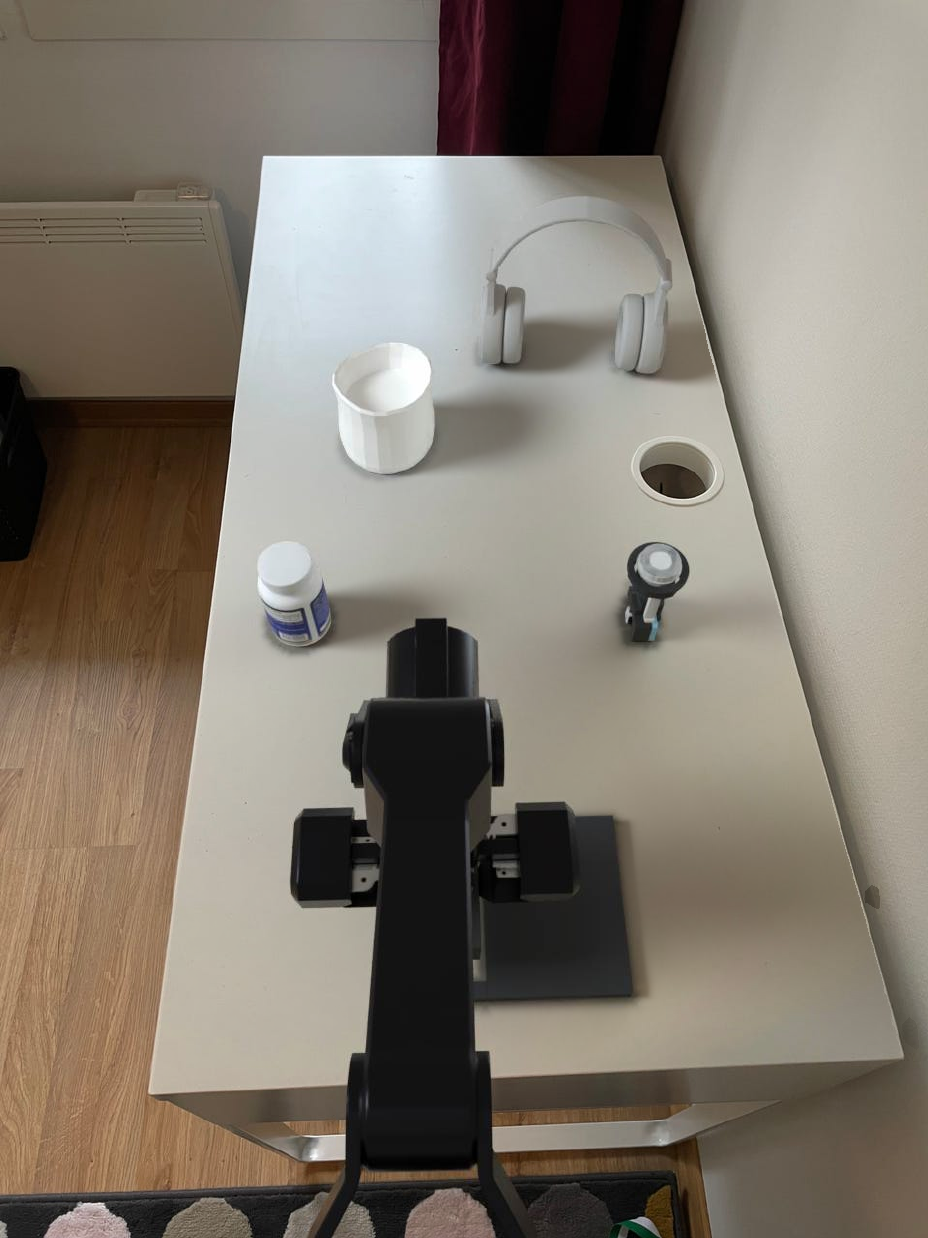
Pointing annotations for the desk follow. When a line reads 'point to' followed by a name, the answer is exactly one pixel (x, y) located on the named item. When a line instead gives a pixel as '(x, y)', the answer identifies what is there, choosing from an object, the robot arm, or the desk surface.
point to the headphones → (637, 316)
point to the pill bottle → (293, 594)
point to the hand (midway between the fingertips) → (437, 888)
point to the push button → (652, 585)
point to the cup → (385, 406)
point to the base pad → (563, 933)
